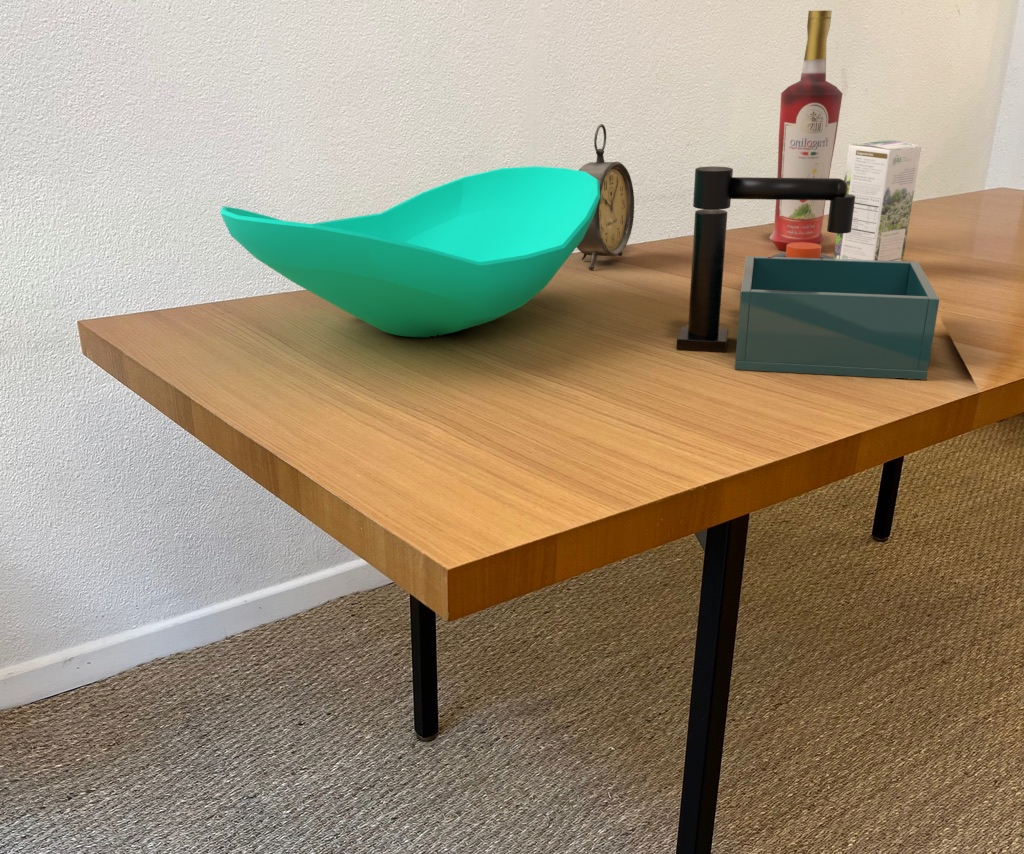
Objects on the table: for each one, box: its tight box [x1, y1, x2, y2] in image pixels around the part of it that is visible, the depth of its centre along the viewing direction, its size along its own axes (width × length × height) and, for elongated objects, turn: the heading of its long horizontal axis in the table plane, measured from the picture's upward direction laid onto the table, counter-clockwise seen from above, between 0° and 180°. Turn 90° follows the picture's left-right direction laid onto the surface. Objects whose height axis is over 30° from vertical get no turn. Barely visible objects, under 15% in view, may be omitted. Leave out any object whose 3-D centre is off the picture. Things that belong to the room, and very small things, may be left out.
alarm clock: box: [576, 123, 635, 271], centre depth 127 cm, size 11×5×16 cm, turn 151°
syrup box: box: [833, 139, 922, 261], centre depth 120 cm, size 6×6×14 cm
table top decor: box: [220, 165, 600, 338], centre depth 101 cm, size 40×28×13 cm
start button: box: [785, 242, 822, 258], centre depth 112 cm, size 4×4×2 cm
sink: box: [734, 255, 940, 380], centre depth 93 cm, size 16×15×7 cm
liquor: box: [769, 10, 843, 252], centre depth 131 cm, size 7×7×28 cm
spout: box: [692, 165, 855, 234], centre depth 91 cm, size 14×3×5 cm, turn 80°
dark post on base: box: [676, 209, 729, 353], centre depth 95 cm, size 4×4×12 cm
